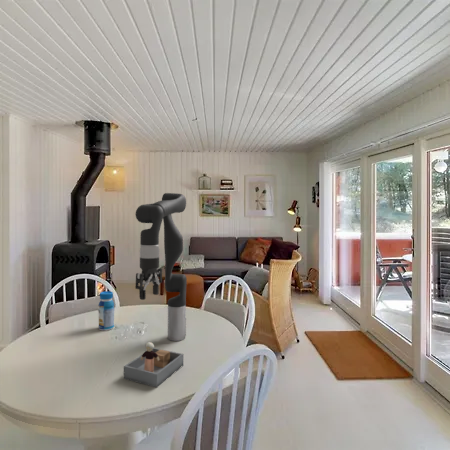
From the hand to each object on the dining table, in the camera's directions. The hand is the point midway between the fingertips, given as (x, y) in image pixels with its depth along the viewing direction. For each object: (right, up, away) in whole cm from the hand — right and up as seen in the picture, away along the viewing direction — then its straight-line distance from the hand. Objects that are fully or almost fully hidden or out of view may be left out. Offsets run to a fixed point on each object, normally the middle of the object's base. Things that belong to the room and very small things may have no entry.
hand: (149, 296), depth 133 cm
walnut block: (+3, -31, +10) cm, 32 cm away
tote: (+1, -32, +5) cm, 32 cm away
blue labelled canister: (-36, -29, +54) cm, 71 cm away
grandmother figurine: (0, -31, +2) cm, 31 cm away
